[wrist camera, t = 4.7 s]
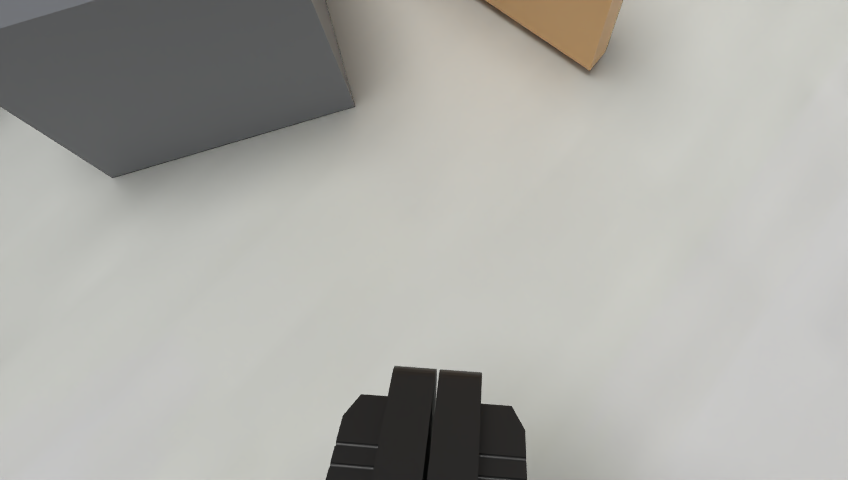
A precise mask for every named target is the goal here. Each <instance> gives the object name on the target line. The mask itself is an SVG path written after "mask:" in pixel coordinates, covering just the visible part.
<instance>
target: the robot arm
mask: <svg viewBox="0 0 848 480" xmlns="http://www.w3.org/2000/svg"><path fill="white" fill-rule="evenodd" d="M436 384H437V369H429V368H415V367H402V366H395V367H394V369H393V373H392V378H391V383H390V388H389V393H388V396H376V395H363V394H361V395H360V396H359V397H358V399H357V400H356V401H355V402H354V403H353V405H352V406H351V407H350V408H349V409H348V410H347V412H346V413H345V414H344V415H343V418H342V421H341V425H340V429H339V432H338V436H337V440H336V446H335V447H334V451H333V455H332V458H331V464H330V468H329V470H328V473H327V477H326V480H527V469H526V442H525V429H524V428H523V426H522V424H521V422H520V420H519V419H518V417H517V415H516V413H515V411H514V410H513V408H512V406H503V405H490V404H481V385H482V373H480V372H467V371H453V370H440V372H439V380H438V388H437V397H436Z"/></svg>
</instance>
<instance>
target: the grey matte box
mask: <svg viewBox="0 0 848 480" xmlns="http://www.w3.org/2000/svg"><path fill="white" fill-rule="evenodd" d="M0 107H2V108H3V109H5V110H7V111H8V112H10V113H11V114H13V115H14V116H16V117H18V118H19V119H21V120H22V121H24V122H25V123H27V124H29V125H30V126H32V127H33V128H35V129H36V130H38V131H40V132H41V133H43V134H44V135H46V136H47V137H49V138H51V139H52V140H54V141H55V142H57V143H58V144H60V145H61V146H63V147H65V148H66V149H68V150H69V151H71V152H72V153H74V154H76V155H77V156H79V157H80V158H82V159H83V160H85V161H87V162H88V163H90V164H91V165H93V166H94V167H96V168H98V169H99V170H101V171H102V172H104V173H105V174H107V175H109V176H110V177H112V178H113V177H116V176H120V175H123V174H127V173H130V172H133V171H137V170H140V169H144V168H147V167H151V166H154V165H157V164H161V163H164V162H168V161H171V160H174V159H178V158H181V157H185V156H188V155H191V154H195V153H198V152H202V151H205V150H208V149H212V148H215V147H219V146H222V145H225V144H229V143H232V142H236V141H239V140H242V139H246V138H249V137H253V136H256V135H259V134H263V133H266V132H270V131H273V130H276V129H280V128H283V127H287V126H290V125H293V124H297V123H300V122H304V121H307V120H310V119H314V118H317V117H321V116H324V115H327V114H331V113H334V112H338V111H341V110H344V109H348V108H351V107H355V105H354V101H353V98H352V94H351V90H350V87H349V83H348V80H347V76H346V72H345V69H344V65H343V61H342V58H341V54H340V51H339V47H338V43H337V40H336V36H335V33H334V29H333V25H332V22H331V18H330V15H329V11H328V7H327V4H326V0H0Z"/></svg>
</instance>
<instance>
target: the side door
mask: <svg viewBox="0 0 848 480" xmlns="http://www.w3.org/2000/svg"><path fill="white" fill-rule="evenodd" d="M485 1H487V2H488V3H490V4H491V5H493V6H494V7H496V8H497V9H499V10H500V11H502V12H503V13H504V14H506V15H507V16H509V17H510V18H512V19H513V20H515V21H516V22H518V23H519V24H521V25H522V26H524V27H525V28H527V29H528V30H530V31H531V32H533V33H534V34H536V35H537V36H539V37H540V38H542V39H543V40H545V41H546V42H548V43H549V44H551V45H552V46H554V47H555V48H557V49H558V50H560V51H561V52H562V53H564V54H565V55H567V56H568V57H570V58H571V59H573V60H574V61H576V62H577V63H579V64H580V65H582V66H583V67H585V68H586V69H588V70H589V71H590V70H591V69H592V67H593V66H594V65H595V64H596V62H597V61H598V60H599V59H600V58H601V56H602V55H603V54H604V53H605V51H606V48H607V46H608V43H609V40H610V37H611V34H612V31H613V28H614V25H615V22H616V19H617V17H618V14H619V11H620V8H621V5H622V2H623V0H485Z"/></svg>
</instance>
